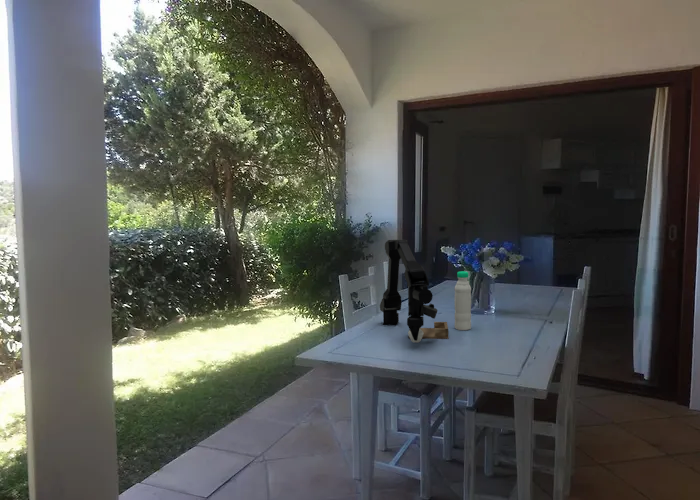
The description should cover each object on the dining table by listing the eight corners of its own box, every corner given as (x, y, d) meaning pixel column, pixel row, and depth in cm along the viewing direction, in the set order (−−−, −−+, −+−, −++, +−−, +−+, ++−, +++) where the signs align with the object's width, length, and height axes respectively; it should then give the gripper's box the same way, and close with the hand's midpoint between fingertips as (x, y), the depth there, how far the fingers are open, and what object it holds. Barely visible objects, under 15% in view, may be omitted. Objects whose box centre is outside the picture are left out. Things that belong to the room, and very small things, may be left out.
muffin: (419, 344, 191) (419, 327, 190) (405, 342, 194) (405, 325, 194) (426, 340, 196) (425, 323, 196) (412, 338, 199) (411, 321, 199)
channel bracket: (408, 338, 200) (408, 329, 200) (409, 329, 214) (409, 321, 213) (448, 339, 198) (448, 329, 197) (446, 330, 211) (446, 321, 211)
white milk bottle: (471, 327, 216) (471, 270, 213) (470, 331, 209) (470, 273, 207) (455, 326, 218) (455, 270, 215) (453, 330, 211) (453, 272, 209)
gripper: (436, 304, 183) (437, 344, 185) (435, 294, 202) (435, 332, 203) (406, 304, 185) (407, 344, 186) (408, 294, 203) (408, 331, 205)
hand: (415, 337), depth 195 cm, fingers open, 7 cm apart
